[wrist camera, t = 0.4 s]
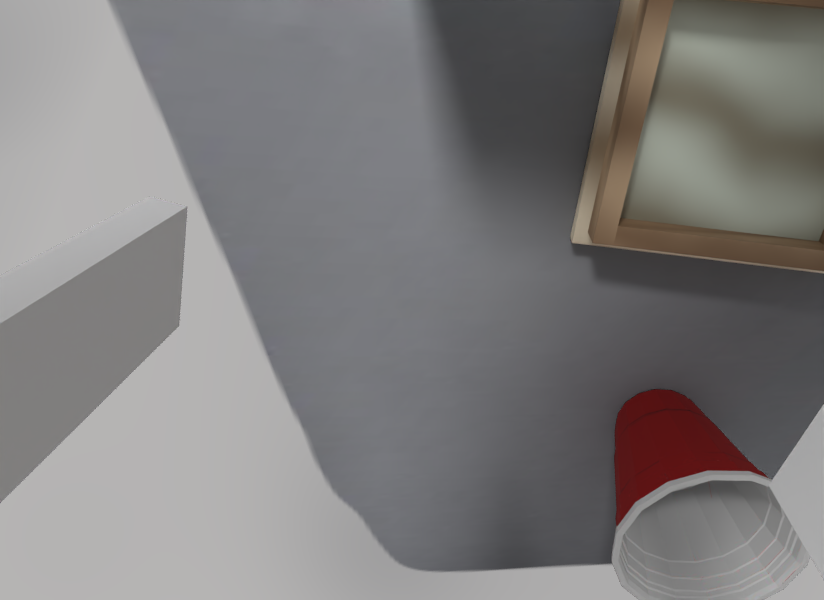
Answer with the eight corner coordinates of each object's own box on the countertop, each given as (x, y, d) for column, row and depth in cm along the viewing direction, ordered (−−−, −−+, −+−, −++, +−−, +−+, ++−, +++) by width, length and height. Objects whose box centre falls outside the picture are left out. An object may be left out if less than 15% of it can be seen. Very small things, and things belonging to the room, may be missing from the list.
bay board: (661, -195, 29) (679, -217, 26) (1016, -171, 28) (1072, -191, 25) (570, 237, 38) (576, 254, 36) (830, 269, 37) (856, 288, 34)
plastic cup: (704, 494, 46) (770, 642, 35) (564, 463, 46) (586, 600, 35) (766, 376, 41) (865, 504, 30) (609, 342, 41) (650, 457, 30)
